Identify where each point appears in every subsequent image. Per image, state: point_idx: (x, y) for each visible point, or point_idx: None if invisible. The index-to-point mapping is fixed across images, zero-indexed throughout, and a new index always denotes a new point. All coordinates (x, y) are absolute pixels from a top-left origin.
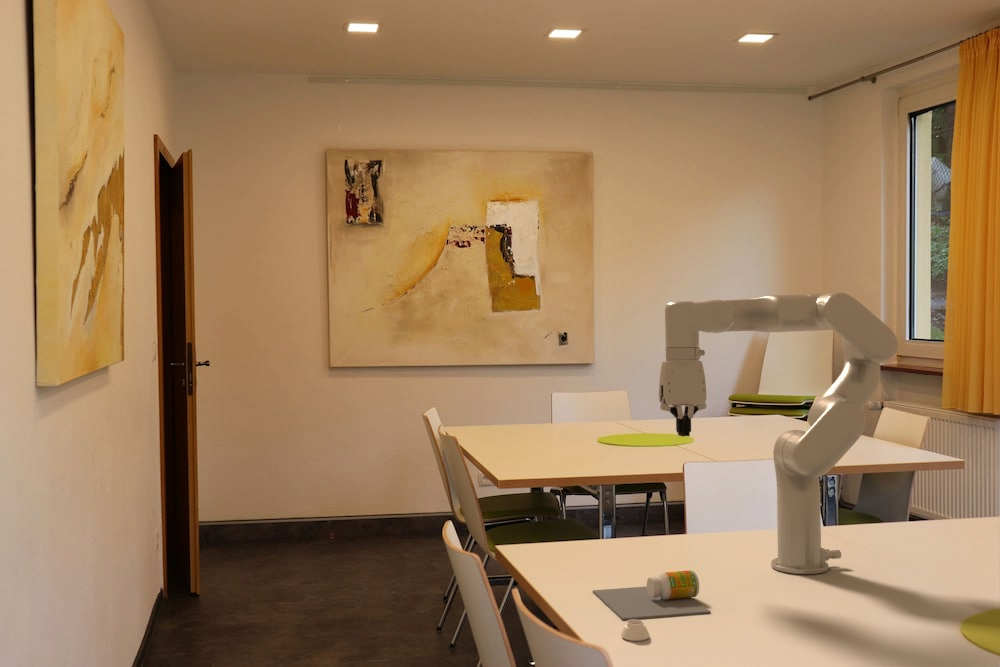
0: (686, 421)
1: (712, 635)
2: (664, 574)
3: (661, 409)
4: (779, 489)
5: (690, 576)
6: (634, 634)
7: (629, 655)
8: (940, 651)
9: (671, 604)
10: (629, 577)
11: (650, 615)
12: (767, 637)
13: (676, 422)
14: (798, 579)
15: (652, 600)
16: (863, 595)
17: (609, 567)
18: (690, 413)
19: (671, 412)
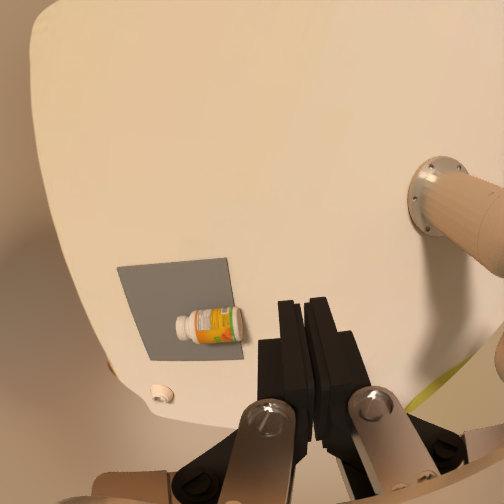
0: (315, 431)
1: (227, 399)
2: (195, 341)
3: (109, 480)
4: (492, 246)
5: (230, 341)
6: (160, 400)
7: (157, 412)
8: None
9: None
10: (170, 199)
11: (178, 359)
12: None
13: (258, 389)
14: (410, 250)
15: None
16: (428, 319)
17: (148, 134)
18: (358, 471)
19: (205, 463)
